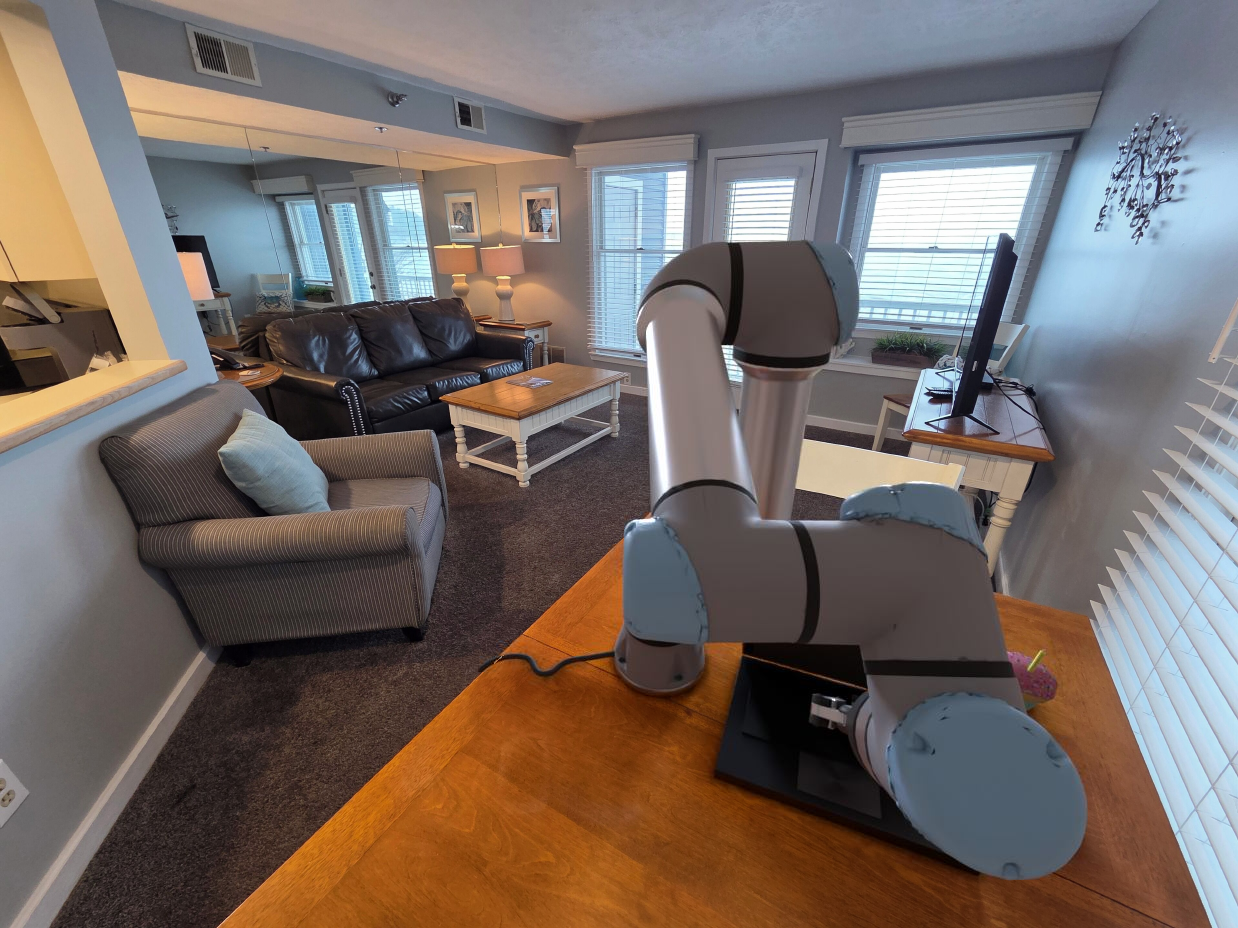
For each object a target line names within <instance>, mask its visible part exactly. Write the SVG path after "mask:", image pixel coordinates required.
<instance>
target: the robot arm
mask: <svg viewBox="0 0 1238 928" xmlns="http://www.w3.org/2000/svg"><path fill="white" fill-rule="evenodd" d="M860 292H861V291H860V282H859V276H858V271H857V268H856V265H855V262H854V260H853V257H852V255H851V254H850V252H849V251H848V250H847V249H846V248H845V246H843V245H841V244H839V243H837V242H833V241H822V240H821V241H820V240H808V239H806V238H805V239H801V240H771V241H770V240H769V241H728V242H727V241H710V242H706V243H701V244H698V245H696V246H693V247H691V248H688V249H685V250H684V251H683V252H681V253H679V254H678V255H676V256H675V257H673V258H671V259H670V260H669V261H667V263H666V264H664V265H663V266H662V267H661V268H660V269H659V270H657V272H656V273H654V275H653V276H652V278H651V280H650V281H649V282H648V283H647V285H646V287H644V290H643V292H642V294H641V296H640V298H639V300H638V301H639V302H638V306H637V310H636V317H635V330H636V338H637V341H638V344H639V346H640V348H641V350H642V351H643V352H644V353H645V354H646V355H645V357H646V389H647V390H646V391H647V392H646V393H647V421H648V422H647V424H648V425H647V426H648V456H649V457H648V458H649V459H648V460H649V494H650V495H649V496H650V517H648V518H645V519H633V520H631V521H629V522H628V523H627V524H626V526H625V527H624V531H623V543H622V544H623V551H622V552H623V555H622V616H623V623H622V626H621V628H620V630H619V633H618V636H617V638H616V640H615V643H614V647H613V650H608V651H603V652H602V651H601V652H596V653H590V654H583V655H576V656H571V657H567V658H564V659H561V661H559V662H558V663H556V664H555V665H554V666H552V667H551V668H550V669H547V670H542V669H541V668H539V665H538V664H537V662H536V660H535V659H534V658H533V656H531V655H530V654H528V653H527V654H526V653H520V652H511V653H510V652H509V653H504V654H505V655H504V656H502V655H503V654H499V655H497V656H494V657H492V658H490V659H488V660H487V661H486V662H484V663H483V664H481V665H480V666H479V667H478V668H477V671H476V672H477V673H484V672H485V671H486V670H487V669H489V668H490V667H492V666H494V665H495V664H497V663H500V662H504V661H507V660H523V661H526V662H527V663H528V664H529V666H530V668H531V670H532V672H533V673H534V674H535V675H536V676H538V677H543V678H547V677H551V676H553V675H555V674H556V673H557V672H558V671H560V670H561V669H563V668H564V667H566V666H567V665H571V664H576V663H583V662H590V661H595V660H601V659H607V658H613V664H614V665H613V666H614V669H615V671H616V673H617V676H618V677H619V678H620V679H621V681H622V682H623V683H624V684H625V685H626V686H628V687H629V688H630V689H632V690H633V691H635V692H638V693H639V694H642V695H645V696H649V697H655V698H669V697H675V696H678V695H681V694H684V693H686V692H688V691H689V690H691V689H692V688H693V687H695V686H696V685H697V684H698V682H699V681H700V680H701V678H702V676H703V674H704V671H705V663H706V653H707V652H708V644H723V643H724V644H729V643H730V644H731V643H734V644H735V643H737V644H740V643H741V644H742V643H766V642H791V643H793V644H796V643H803V644H836V645H860V649H861V653H862V658H863V665H864V671H865V674H866V676H867V685H868V689H867V690H868V691H866V692H864V693H863V694H862V695H861V696H860V697H859V696H856V695H852V702H851V706H849V705H846V701H844V700H843V698H839V697H836V698H834V697H826V696H823V695H822V694H818V693H817V694H813V695H812V702H813V703H811V710H810V713H811V714H810V717H809V722H810V723H812V724H813V726H816V727H819V726H822V727H827V728H830V729H834V728H839V730H840V731H841V732H843V733H845V734H847V735H848V738H849V741H850V744H851V747H852V750H853V752H854V754H855V756H856V758H857V760H858V761H859V763H860V764H861V765H862V767H863V768H864V769H865V770H866V771H867V773H868V774H869V775H870V776H871V777H872V778H873V779H874V780H875V781H876V782H877V783H878V784H879V785H880V786H881V787H882V788H883V789H884V790H885V791H886V793H887V794H888V795H889V796H890V797H891V798H892V799H893V800H894V801H895V802H896V804H897V806H898V808H899V809H900V810H901V811H902V813H903V814H904V816H905V818H906V820H907V821H908V822H909V823H910V824H911V825H912V827H913V828H914V829H915V830H916V831H917V832H918V833H920V834H923V835H924V837H925V838H926V839H927V840H928V841H930V842H932V843H933V844H935V845H936V846H937V847H939V848H940V849H941V850H943V851H944V852H945V853H946V854H948V855H950V856H952V857H953V858H955V859H956V860H958V861H960V862H961V863H963V864H965V865H966V866H968V867H970V868H972V869H974V870H977V871H979V872H981V874H984V875H988V876H992V877H996V878H1000V879H1004V880H1006V881H1014V880H1015V881H1016V880H1033V879H1039V878H1043V877H1045V876H1048V875H1051V874H1052V873H1055V872H1057V871H1058V870H1060V869H1061V868H1063V867H1064V866H1066V865H1067V864H1068V863H1069V862H1070V861H1071V859H1073V857H1074V856H1075V854H1076V853H1077V852H1078V850H1079V848H1080V847H1081V846H1082V843H1083V840H1084V837H1085V833H1086V830H1087V823H1088V802H1087V796H1086V791H1085V788H1084V785H1083V781H1082V779H1081V777H1080V774H1079V772H1078V770H1077V768H1076V766H1075V765H1074V763H1073V761H1072V760H1071V758H1070V756H1069V755H1068V754H1067V752H1066V751H1065V750H1064V749H1063V747H1062V746H1061V744H1060V743H1059V742H1058V741H1057V740H1056V739H1055V738H1054V737H1053V736H1052V734H1051V733H1050V732H1049V731H1048V730H1047V729H1046V728H1044V726H1042V725H1041V724H1040V723H1038V722H1037V721H1036V720H1035V719H1034V718H1032V717H1031V716H1029V715H1028V712H1027V710H1026V708H1025V704H1024V700H1023V696H1022V692H1021V689H1020V686H1019V682H1018V679H1017V678H1016V677H1015V673H1014V669H1013V665H1012V663H1011V662H1010V661H1009V658H1008V654H1007V652H1008V649H1007V644H1006V640H1005V637H1004V632H1003V628H1002V623H1001V619H1000V615H999V610H998V605H997V601H996V597H995V592H994V588H993V583H992V579H991V574H990V569H989V565H988V564H989V554H988V552H987V549H986V547H985V545H984V541H983V539H982V536H981V533H980V530H979V528H978V524H977V522H976V519H975V517H974V515H973V513H972V510H971V507H970V505H969V503H968V501H967V499H966V498H965V496H964V495H963V494H962V493H960V492H959V491H958V490H957V489H955V488H953V487H950V486H948V485H945V484H942V483H936V482H928V481H908V482H902V483H898V484H893V485H892V484H891V485H890V484H883V485H877V486H873V487H869V488H866V489H862V490H860V491H858V492H855V493H854V494H852V495H849V496H848V497H847V498H846V499H844V501H843V502H842V504H841V506H840V508H839V509H840V510H839V520H791V519H792V518H791V517H792V512H793V507H794V506H793V505H794V502H795V501H794V500H795V492H796V488H797V483H798V482H797V481H798V475H799V470H800V462H801V457H802V450H803V445H804V438H805V431H806V425H807V418H808V413H809V406H810V400H811V395H812V387H813V383H814V382H813V381H814V377H815V376H816V374H818V373H819V372H820V371H822V370H823V369H825V368H826V367H828V366H829V364H830V360H831V354H832V349H833V347H836V348H838V347H841V346H842V345H845V344H846V343H848V342H849V341H850V340H851V338H852V336H853V333H854V331H856V327H857V323H858V319H859V313H860V301H861V299H860V298H861V296H860V295H861V294H860ZM723 346H732V352H731V353H732V354H731V357H732V360H733V361H734V362H735V364H736V365H737V366H738V367H739V368H740V369H741V371H742V378H741V388H740V399H739V408H738V409H739V410H737V406H736V403H735V398H734V393H733V389H732V385H731V379H730V375H729V372H728V367H727V363H726V358H725V353H724V350H723ZM704 645H705V647H704ZM705 650H706V653H705ZM501 656H502V658H501V659H499V658H500V657H501ZM498 659H499V660H498ZM496 660H498V661H497V662H496V663H495V664H494V662H495V661H496Z"/></svg>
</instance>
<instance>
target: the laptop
mask: <svg viewBox="0 0 1238 928" xmlns="http://www.w3.org/2000/svg"><path fill="white" fill-rule="evenodd" d="M866 691H868V689H865V688H862V687H858V686H855V685H851V684H847V683H844V682H840V681H837V680H833V679H830V678H826V677H822V676H819V675H815V674H812V673H808V672H805V671H801V670H797V669H794V668H790V667H787V666H783V665H779V664H776V663H772V662H769V661H765V660H762V659H758V658H754V657H751V656H747V655H744V654H742V655H741V657H740V661H739V665H738V670H737V674H736V679H735V682H734V687H733V691H732V695H731V698H730V699H731V700H730V703H729V706H728V707H729V708H728V712H727V716H726V719H725V720H726V721H725V725H724V729H723V733H722V737H721V741H720V746H719V749H718V754H717V758H716V762H715V767H714V773H713V779H716V780H719V781H722V782H724V783H726V784H729V785H732V786H735V787H736V788H737V787H738V788H740V789H743V790H746V791H748V792H751V793H753V794H756V795H759V796H761V797H764V798H767V799H769V800H772V801H775V802H778V803H780V804H783V805H786V806H789V807H791V808H794V809H796V810H800V811H802V812H805V813H808V814H810V815H813V816H816V817H818V818H821V819H823V820H826V821H829V822H831V823H835V824H837V825H839V826H843V827H845V828H848V829H851V830H853V831H855V832H858V833H861V834H864V835H866V836H870V837H872V838H875V839H878V840H880V841H882V842H886V843H888V844H891V845H894V846H896V847H899V848H901V849H905V850H907V851H909V852H913V853H916V854H918V855H920V856H924V857H926V858H929V859H932V860H934V861H937V862H939V863H942V864H944V865H947V866H950V867H953V868H955V869H959V870H961V871H963V872H967V873H969V874H971V875H975V876H977V877H979V876H980V875H981V874H982V872H979V871H977V870H974V869H972V868H970V867H968V866H966V865H965V864H963V863H961V862H960V861H958V860H956V859H955V858H953V857H952V856H950V855H948V854H946V853H945V852H944V851H943V850H941V849H940V848H939V847H937V846H936V845H935V844H933V843H932V842H930V841H928V840H927V839H926V838H925V837H924V835H923V834H920V833H918V832H917V831H916V830H915V829H914V828H913V827H912V825H911V824H910V823H909V822H908V821H907V820H906V818H905V816H904V814H903V813H902V811H901V810H900V809H899V808H898V806H897V804H896V802H895V801H894V800H893V799H892V798H891V797H890V796H889V795H888V794H887V793H886V791H885V790H884V789H883V788H882V787H881V786H880V785H879V784H878V783H877V782H876V781H875V780H874V779H873V778H872V777H871V776H870V775H869V774H868V773H867V771H866V770H865V769H864V768H863V767H862V765H861V764H860V763H859V761H858V760H857V758H856V756H855V754H854V752H853V750H852V747H851V744H850V741H849V738H848V735H847V734H845V733H843V732H841V731H840V730H839V728H834V729H830V728H827V727H822V726H819V727H816V726H813V724H812V723H810V722H809V717H810V714H811V713H810V710H811V703H813V702H812V695H813V694H817V693H818V694H822V695H823V696H826V697H834V698H836V697H839V698H843V700H844V701H846V705H849V706H851V702H852V695H856V696H859V697H860V696H861V695H862V694H863V693H864V692H866Z"/></svg>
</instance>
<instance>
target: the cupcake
mask: <svg viewBox="0 0 1238 928" xmlns="http://www.w3.org/2000/svg"><path fill="white" fill-rule="evenodd" d="M1046 651H1047V648H1045V649H1043V650H1042V649H1041V650H1040V651H1038V653H1037V655H1036V657H1034V658H1033V657H1031V656H1029V655H1027V654H1025V653H1021V652H1017V651H1011V650H1007V654H1008V658H1009V661H1010V662H1011V663H1012V665H1013V669H1014V673H1015V677H1016V678H1017V679H1018V682H1019V686H1020V689H1021V692H1022V696H1023V700H1024V704H1025V708H1026V711H1029V710H1031V709H1033V708H1034V707H1035V706H1037V705H1038V704H1045V703H1047V702H1050V701H1053V700H1054V699H1055V698H1056V695H1057V690H1058V687H1059V683H1058V681H1057V678H1056V677H1055V675H1054V674H1053V673H1052V672H1051V671H1050V670H1049V668H1047V667H1046V665H1044V663H1041V661H1042V660H1043V658H1045V656H1046V654H1047V653H1046Z"/></svg>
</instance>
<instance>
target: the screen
mask: <svg viewBox="0 0 1238 928" xmlns="http://www.w3.org/2000/svg"><path fill="white" fill-rule="evenodd" d="M741 644H742V645H741V648H742V651H741V654H742V655H744V656H748V657H751V658H755V659H758V660H762V661H765V662H769V663H773V664H776V665H780V666H783V667H787V668H790V669H794V670H798V671H801V672H805V673H808V674H812V675H815V676H819V677H823V678H826V679H830V680H833V681H837V682H840V683H844V684H848V685H851V686H855V687H858V688H862V689H865V690H868V685H867V676H866V674H865V671H864V665H863V658H862V653H861V649H860V645H836V644H803V643H796V644H793V643H791V642H766V643H741Z"/></svg>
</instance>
